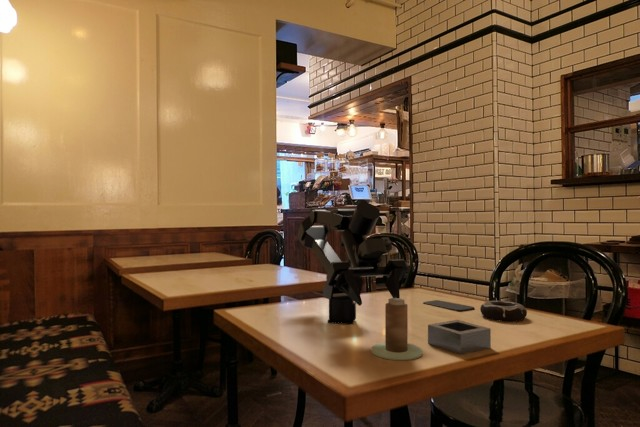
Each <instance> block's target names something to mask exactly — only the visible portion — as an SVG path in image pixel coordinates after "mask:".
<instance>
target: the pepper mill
mask: <svg viewBox="0 0 640 427" xmlns="http://www.w3.org/2000/svg"><path fill="white" fill-rule="evenodd" d="M384 312H385V314H384V315H385V322H384V323H385V330H384V332H385V341H384V342H385V349H386V350H387V351H390V352H397V353H400V352H406V351H407V350H408V344H409V342H408V339H409V338H408V337H409V336H408V334H409V332H408V327H409V326H408V324H409V323H408V317H409V316H408V314H409V313H408V304H407V303H405V299H404V298H393V297H392V298H388V302H387V303H385V311H384Z"/></svg>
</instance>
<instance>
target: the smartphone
mask: <svg viewBox="0 0 640 427" xmlns="http://www.w3.org/2000/svg"><path fill="white" fill-rule="evenodd" d="M422 304H423V305H427V306H432V307H436V308H441V309H445V310H449V311H454V312H460V313H462V312H468V311H473V310H475V307H474V306H471V305H468V304H467V305H465V304H461V303H456V302H449V301H445V300H439V299H436V300H434V299H433V300H427V301H423V302H422Z"/></svg>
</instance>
